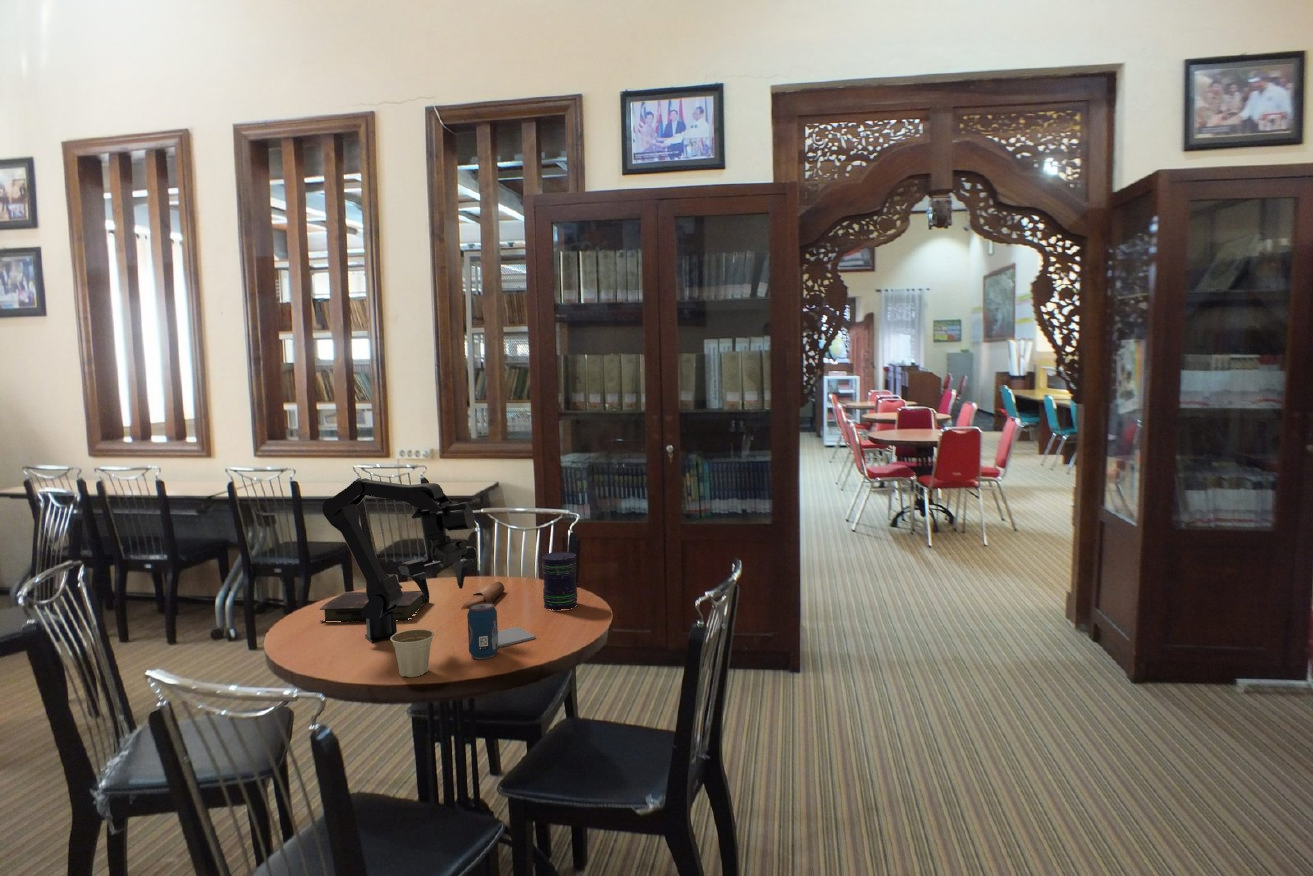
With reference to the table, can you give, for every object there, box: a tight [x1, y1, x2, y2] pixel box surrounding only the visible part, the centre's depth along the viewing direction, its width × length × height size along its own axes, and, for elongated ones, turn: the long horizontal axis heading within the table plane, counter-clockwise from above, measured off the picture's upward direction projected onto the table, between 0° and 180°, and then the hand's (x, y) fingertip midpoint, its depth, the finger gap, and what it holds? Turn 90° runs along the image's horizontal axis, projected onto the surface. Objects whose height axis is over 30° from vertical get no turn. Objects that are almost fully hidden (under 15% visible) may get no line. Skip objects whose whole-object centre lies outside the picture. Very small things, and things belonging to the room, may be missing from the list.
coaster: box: [498, 626, 536, 648], centre depth 195 cm, size 10×10×1 cm
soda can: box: [466, 602, 499, 660], centre depth 183 cm, size 7×7×12 cm
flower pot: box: [389, 628, 435, 678], centre depth 173 cm, size 9×9×9 cm
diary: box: [318, 590, 430, 624], centre depth 220 cm, size 19×25×5 cm
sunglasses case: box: [460, 581, 505, 610], centre depth 230 cm, size 18×7×7 cm, turn 176°
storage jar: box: [541, 551, 578, 610], centre depth 221 cm, size 10×10×15 cm
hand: (444, 593), depth 194 cm, fingers open, 9 cm apart
